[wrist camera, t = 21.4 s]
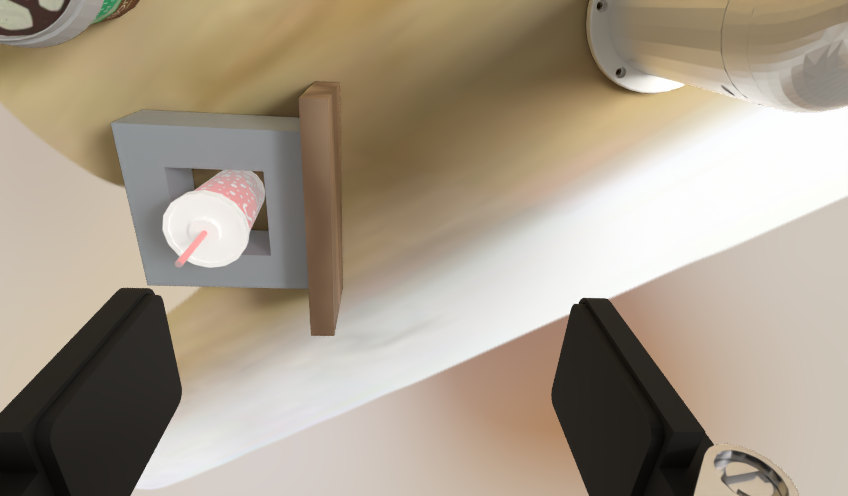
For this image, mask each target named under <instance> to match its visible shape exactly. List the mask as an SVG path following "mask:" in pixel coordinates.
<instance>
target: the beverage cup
mask: <svg viewBox="0 0 848 496" xmlns="http://www.w3.org/2000/svg"><path fill="white" fill-rule="evenodd" d="M264 198H265V189H264V185H263V183H262V181H261V180H260V179H259V177H258V176H257V175H256V174H255V173H253V172H252V171H242V170H222V171H221V172H219V173H218V174H216V175H215V176H214V177H212V178H211V179H209V180H208V181H207V182H205V183H204V184H202V185H201V186H200V187H198V188H197V189H195V190H194V191H191V192H187V193H186V194H184V195H182V196H180V197H179V198H177V199H176V200H174V201H173V202H171V204H170V205H169V207H168V208H167V210H166V212H165V213H164V215H163V229H162V230H163V232H164V235H165V237H166V240H167V243H168V244H169V246H170V247H171V248H172V249H173V250H174V251H175V252H176V253H177V254H178V256H180V257H179V258H178V260H177V261H176V262H175V266H176V267H182V266H183V264H184V263H185V262H186V261H188V262H190V263H192V264H194V265H199V266H203V267H208V268H213V267H221V266H226V265H228V264H230V263H232V262H233V261H235V260H237V259H238V258H239V257H240V255H241V254H242V252H243V251H244V250H245V248H246V247H247V244H248V240H249V234H250V230H251V228H252V226H253V224H254V222H255V220H256V217H257V215H258V213H259V211H260V209H261V207H262V204H263V202H264Z"/></svg>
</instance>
